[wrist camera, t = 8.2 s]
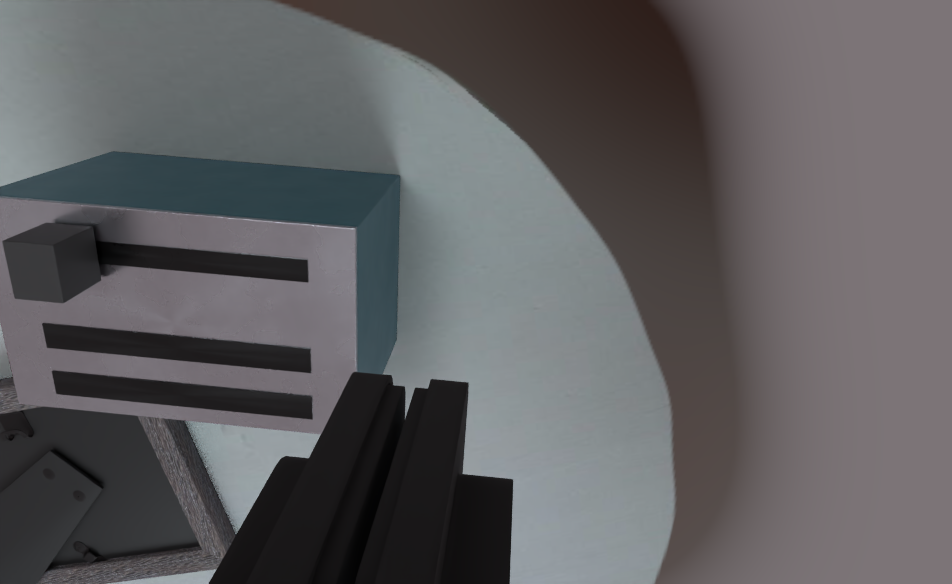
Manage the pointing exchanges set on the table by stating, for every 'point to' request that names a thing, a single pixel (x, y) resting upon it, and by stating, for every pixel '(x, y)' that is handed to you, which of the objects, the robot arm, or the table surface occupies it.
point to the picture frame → (102, 497)
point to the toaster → (208, 289)
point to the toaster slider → (52, 262)
